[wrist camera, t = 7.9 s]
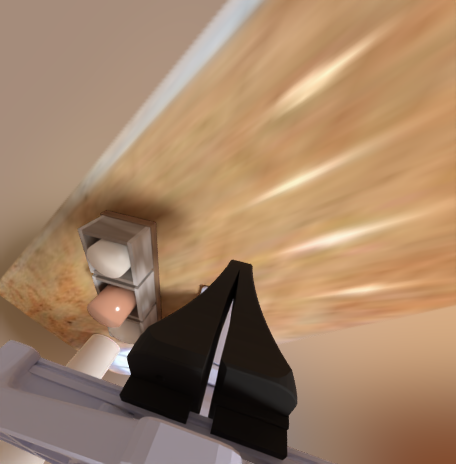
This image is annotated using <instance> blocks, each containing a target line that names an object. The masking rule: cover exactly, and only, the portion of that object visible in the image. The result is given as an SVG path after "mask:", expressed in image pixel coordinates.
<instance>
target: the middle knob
mask: <svg viewBox="0 0 456 464" xmlns="http://www.w3.org/2000/svg"><path fill="white" fill-rule="evenodd" d="M136 305H137V303H136V296H135V291H132V290H129V289H125V288H122V287H119V286H115V285H112V284H109V285H107V286H106V287H105V288H104V289H103V290H102V291H101V292H100V293H99V294H98V295H97V296H96V297H95V298H94V299H93V300H92V301H91V302H90V303H89V304H88V306H87V309H88V312H89V313H90V315H91V316H92V317H93V318H94V319H95V320H96V321H98V322H99V323H101V324H103V325H105V326H107V327H111V328H117V327H120V326H121V324H122V323H123V322H124V320H125V319H126V318H127V317H128V315H129V314H130V313H131V311H132V310H133V309H134V307H135V306H136Z"/></svg>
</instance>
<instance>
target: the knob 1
mask: <svg viewBox="0 0 456 464" xmlns="http://www.w3.org/2000/svg"><path fill="white" fill-rule="evenodd" d="M87 258H88V260H89V262H90V264H91V265H92V266H93V267H94V268H95V269H96V270H97V271H98V272H99V273H101V274H103V275H105V276H107V277H110V278H119V277H121V276H122V275H123V274H124V273H125V272H126V271H127V270H128V269H129V268H130V267H131V264H130V258H129V252H128V246H126V245H122V244H119V243H115V242H111V241H107V240H104V239H100V240H99V241H98V242H96V243H95V244H93V245H92V246H90V247H89V248H88V249H87Z"/></svg>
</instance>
